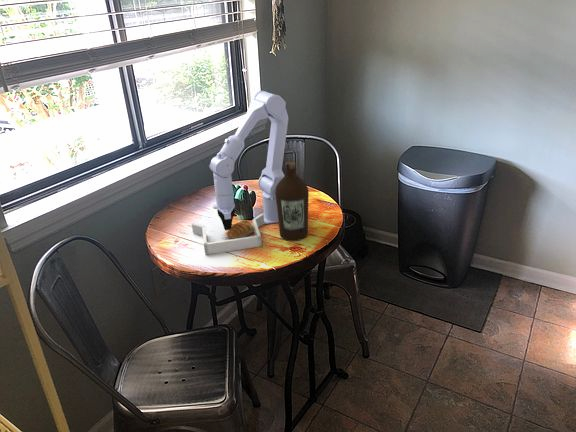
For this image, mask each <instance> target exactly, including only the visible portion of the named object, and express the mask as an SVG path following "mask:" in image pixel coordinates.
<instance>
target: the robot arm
mask: <svg viewBox="0 0 576 432" xmlns="http://www.w3.org/2000/svg"><path fill="white" fill-rule="evenodd" d="M286 106H287V102H286V101H285V100H284V99H283V98H282V97H281V95H280V94H279V95H278V94H274V93H270V92H267V91H265V90H259V91H258V92H256V93H255V94H254V96H253V98H252V99H251V101H250V102H249V106H248V109H247V112H246V113H245V115H244V116H243V118H242V121H241V122H240V124H239V126H238V127H237V130H236V131H235V133H234V134H232V135H230V136H228V138H225V140H224V142H223V143H224V144H223V145H222V148H220V151H219V152H217V154H216V156H214V157H212V159H211V160H210V164H209V165H208V167H209V169H210V170H211V172H212V175H213V184H214V185H213V186H214V193H215V202H216V204H213V206H212V208H213V210H216V211H217V215H218V217H219V219H220V220H221V222H222V225H223V229H224V230H225V231H229V230H230V229H231V227H232V226H233V219H234V217H235V215H236V214H235V213H236V211H235V206H236V205H235V200H234V189H233V178H232V174H233V172H234V171H235V162H236V161H237V159H238V158H239V156H240V154H241V153H242V151H243V150H244V148H245V145H246V144H245V140H246V138H247V136H248V135H249V134H250V132H251V131H253V128H254V127H255V125H256V124H257V123H258V121H261V120H265V119H269V121H270V123H271V124H270V129H269V130H270V132H269V139H268V147H267V155H266V156H267V157H266V163H265V165H266V166H265V167H264V168H263V169H262V170H261V175H260V177H259V179H258V182H257V185H258V188H259V189H260V190H261V192H262V195H261V196H262V205H263V213H261V214H264V224H266V225H268V224H274V223H279V220H278V212H277V204H276V196H275V190H276V186H277V184H278V183H279V182H280V180H281V179H282V178H283V177H284V176H285V174H284V171H283V164H284V163H283V162H284V156H285V155H284V154H285V150H286V149H285V148H286V141H287V132H288V124H289V115H288V111H287V109H286Z"/></svg>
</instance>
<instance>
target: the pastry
mask: <svg viewBox="0 0 576 432" xmlns="http://www.w3.org/2000/svg"><path fill="white" fill-rule="evenodd" d="M253 232H254V228H253V224H252V223H251V221H249V220H248V219H245V220H244V219H243V220H241V221H239V222H236V223H234V224H232V227H231V229H230V230H227V233H226V236H227V238H228V240H230V239H237V238H244V237H249V235H252V234H253Z"/></svg>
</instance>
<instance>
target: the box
mask: <svg viewBox="0 0 576 432" xmlns="http://www.w3.org/2000/svg"><path fill="white" fill-rule="evenodd" d="M264 224H265V222H264V214H262V213H260V214H258V215H257V216H256V217H253V219H252V226H253V228H254V231H253V232H254V235H250V236H246V237H243V238H237V239H225V240H224V239H223V240H219V241H218V240H217V241H211V242H208V238H207V237H208V236H207V230H206V226H205V225H202V224H198V223H192V224H191V228H192V233H193V234H194V235H197V236H200V237H203V239H202V240H203V247H204V248H203V249H204V254H205V256H206V255H211V254H218V253H225V252H231V251H233V252H234V251H238V250H244V249H252V248H257V247H259V248H260V247H263V244H262V243H263V242H262V235H261V232H260V229H259V228H260V227H261V226H263V225H264Z"/></svg>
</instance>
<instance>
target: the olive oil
mask: <svg viewBox="0 0 576 432" xmlns="http://www.w3.org/2000/svg"><path fill="white" fill-rule="evenodd" d="M284 168H285V169H284V172H285V174H284V177H283V178H282V179H281V180H280V182H279V183H278V184H277V186H276V190H275V196H276V204H277V212H278V220H279V222H278V229H279V230H278V231H279V235H280V238H282V239H283V240H285V241H289V242H296V241H301V239H302V240H304V239H305V238H307V237H308V236H309V196H310V195H309V193H310V192H309V188H308V187H309V186H308V185H307V183H306V182H305V181H304V180H303V179H302V178H301V177H300V176H299V174H297V167H296V162H294V161H287V162H285V165H284Z"/></svg>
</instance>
